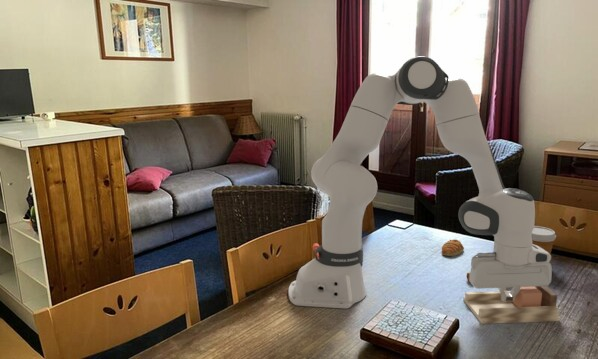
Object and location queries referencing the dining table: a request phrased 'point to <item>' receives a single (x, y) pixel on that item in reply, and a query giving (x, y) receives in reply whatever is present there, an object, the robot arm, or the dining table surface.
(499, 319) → the channel
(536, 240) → the disposable coffee cup
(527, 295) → the salmon pink cube
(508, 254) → the robot arm
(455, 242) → the pastry
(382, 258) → the dining table surface
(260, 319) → the dining table surface
